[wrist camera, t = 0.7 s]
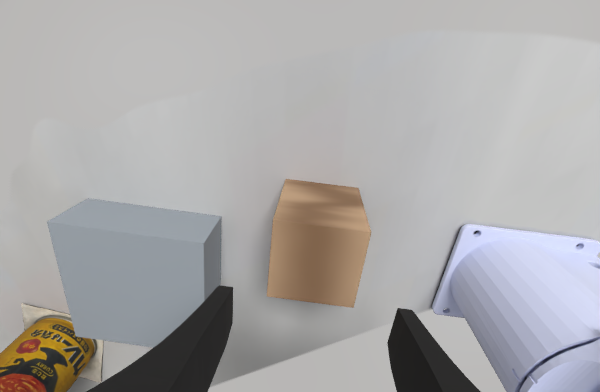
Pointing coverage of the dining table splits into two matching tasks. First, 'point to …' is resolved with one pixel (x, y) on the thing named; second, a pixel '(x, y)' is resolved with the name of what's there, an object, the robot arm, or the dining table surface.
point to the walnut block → (318, 243)
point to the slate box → (134, 268)
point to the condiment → (48, 354)
